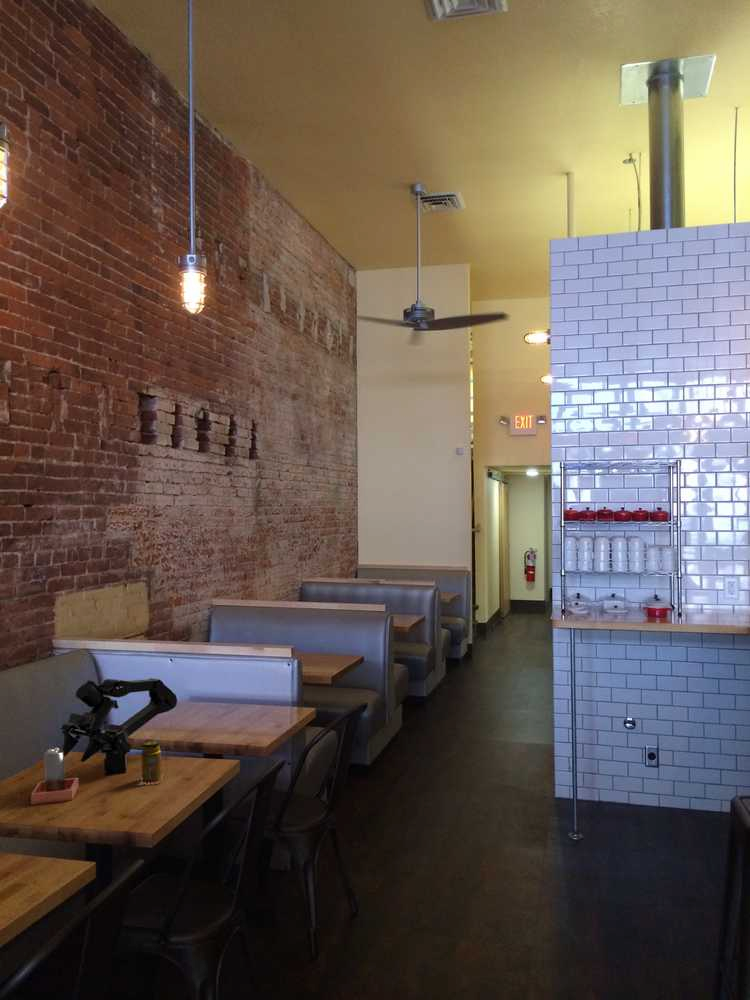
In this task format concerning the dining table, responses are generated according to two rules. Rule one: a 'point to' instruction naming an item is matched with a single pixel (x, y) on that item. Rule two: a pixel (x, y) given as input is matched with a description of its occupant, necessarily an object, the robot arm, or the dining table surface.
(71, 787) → the dish
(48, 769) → the pebble tin
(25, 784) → the dining table surface
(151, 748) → the condiment
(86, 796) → the dining table surface
